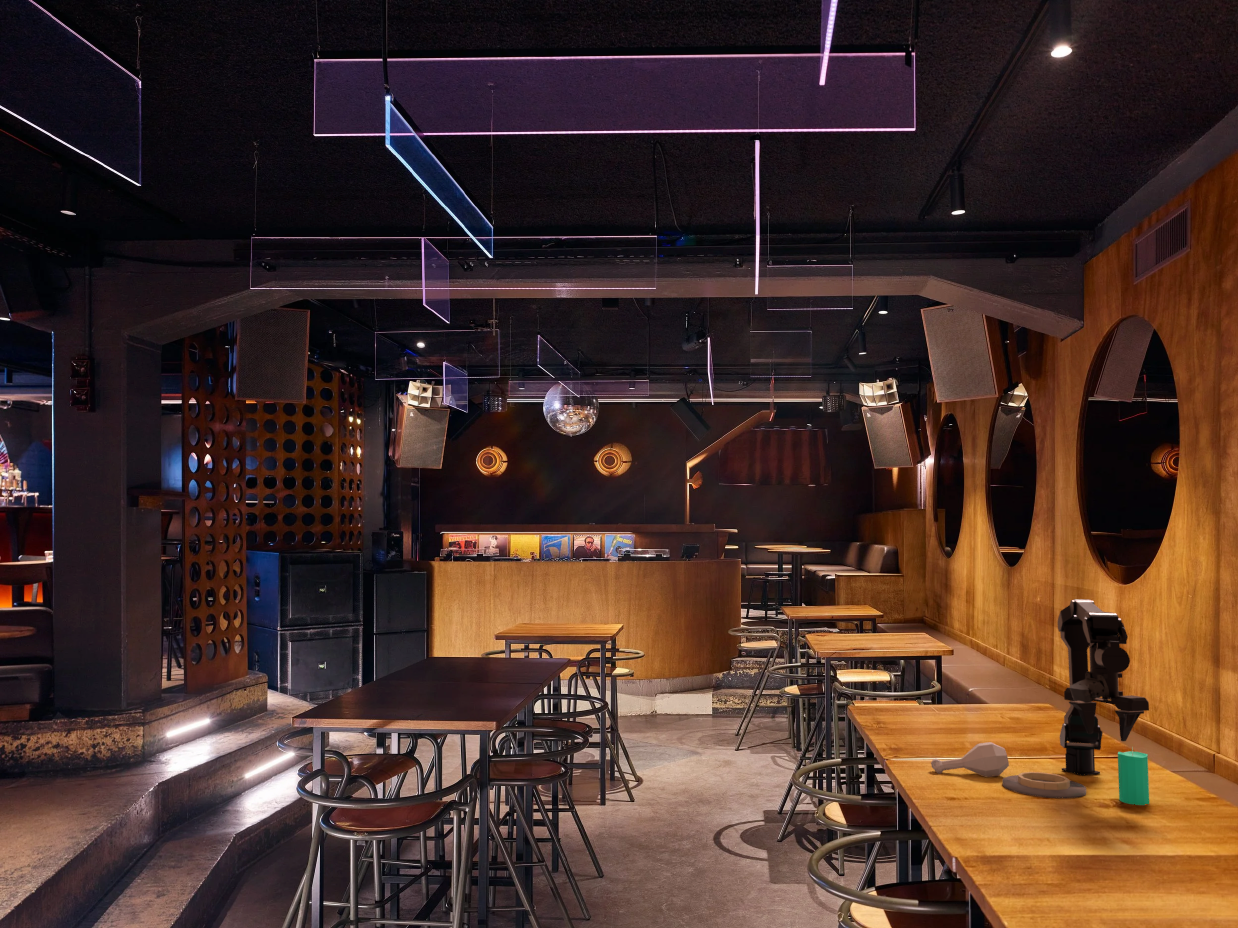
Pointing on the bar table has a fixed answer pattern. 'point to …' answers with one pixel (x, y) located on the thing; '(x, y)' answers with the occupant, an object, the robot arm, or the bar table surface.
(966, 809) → the bar table surface
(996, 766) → the chicken leg
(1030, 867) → the bar table surface
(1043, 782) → the candle holder
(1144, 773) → the candle
